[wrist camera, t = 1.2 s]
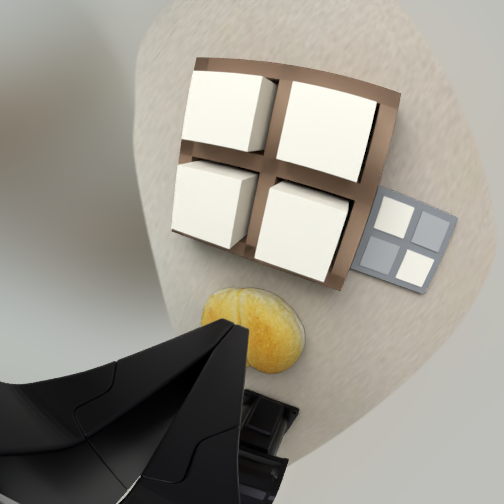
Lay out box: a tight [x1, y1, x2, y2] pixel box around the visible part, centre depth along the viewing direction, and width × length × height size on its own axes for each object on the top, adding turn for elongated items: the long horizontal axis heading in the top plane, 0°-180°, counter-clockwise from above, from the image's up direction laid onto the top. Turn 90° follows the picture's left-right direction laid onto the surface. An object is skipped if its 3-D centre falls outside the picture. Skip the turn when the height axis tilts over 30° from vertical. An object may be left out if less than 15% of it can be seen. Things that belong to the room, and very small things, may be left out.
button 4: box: [181, 71, 278, 152], centre depth 15 cm, size 4×4×3 cm
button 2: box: [276, 81, 377, 182], centre depth 14 cm, size 4×4×3 cm
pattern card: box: [351, 185, 458, 294], centre depth 17 cm, size 6×6×1 cm
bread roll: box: [201, 288, 305, 374], centre depth 23 cm, size 8×9×4 cm
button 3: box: [171, 160, 260, 249], centre depth 18 cm, size 4×4×3 cm
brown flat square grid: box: [172, 58, 401, 291], centre depth 17 cm, size 13×13×2 cm
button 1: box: [254, 180, 349, 282], centre depth 16 cm, size 4×4×3 cm
